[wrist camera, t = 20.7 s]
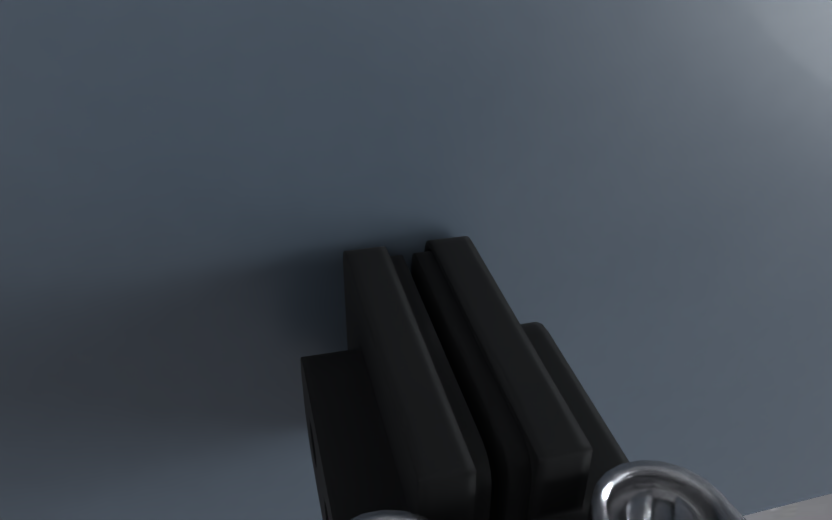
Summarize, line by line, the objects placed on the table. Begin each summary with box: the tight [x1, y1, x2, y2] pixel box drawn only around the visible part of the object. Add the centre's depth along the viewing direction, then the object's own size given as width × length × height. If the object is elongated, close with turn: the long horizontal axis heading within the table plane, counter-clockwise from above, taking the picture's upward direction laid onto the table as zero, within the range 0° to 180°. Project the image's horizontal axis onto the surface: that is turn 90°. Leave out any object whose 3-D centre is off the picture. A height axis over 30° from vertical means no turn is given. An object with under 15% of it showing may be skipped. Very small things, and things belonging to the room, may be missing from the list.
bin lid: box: [0, 0, 832, 520], centre depth 12 cm, size 18×13×1 cm
